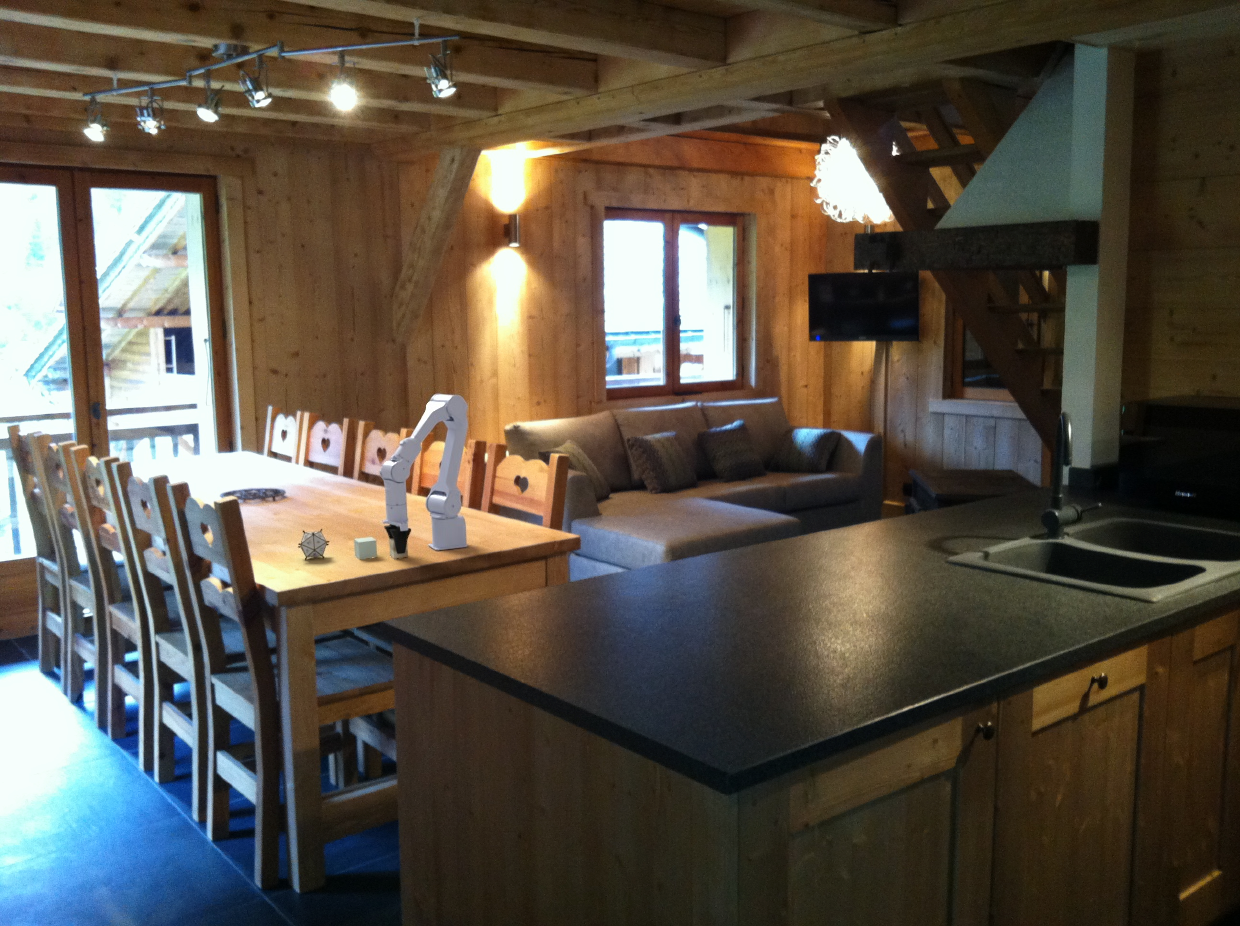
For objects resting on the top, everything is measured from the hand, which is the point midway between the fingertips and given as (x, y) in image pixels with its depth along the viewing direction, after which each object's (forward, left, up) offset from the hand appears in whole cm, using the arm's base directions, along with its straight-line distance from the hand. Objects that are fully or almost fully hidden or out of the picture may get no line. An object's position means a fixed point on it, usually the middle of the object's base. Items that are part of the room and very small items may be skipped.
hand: (398, 551), depth 302 cm
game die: (+21, -11, -2) cm, 24 cm away
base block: (+8, -5, -2) cm, 10 cm away
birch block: (0, 0, -1) cm, 1 cm away
